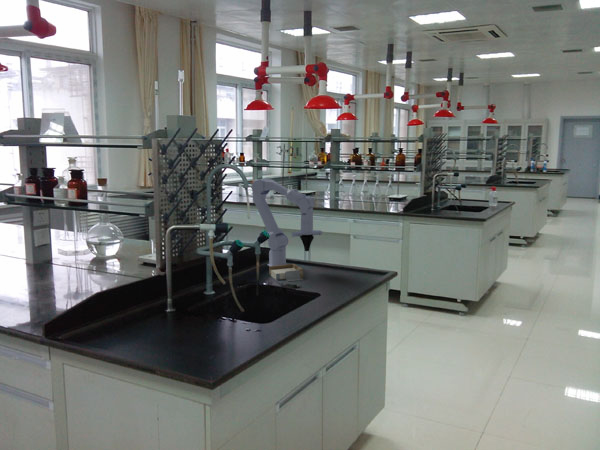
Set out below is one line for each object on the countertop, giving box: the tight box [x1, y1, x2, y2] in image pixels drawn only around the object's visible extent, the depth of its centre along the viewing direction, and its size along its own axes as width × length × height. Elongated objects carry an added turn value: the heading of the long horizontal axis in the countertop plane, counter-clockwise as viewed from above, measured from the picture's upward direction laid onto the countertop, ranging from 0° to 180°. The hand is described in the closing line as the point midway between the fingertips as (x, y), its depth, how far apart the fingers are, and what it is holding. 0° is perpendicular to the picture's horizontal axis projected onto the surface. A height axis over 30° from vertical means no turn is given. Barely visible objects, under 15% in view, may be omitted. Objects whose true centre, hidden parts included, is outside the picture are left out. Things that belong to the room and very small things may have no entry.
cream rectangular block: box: [270, 268, 296, 281], centre depth 236 cm, size 7×11×3 cm, turn 112°
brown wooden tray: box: [268, 263, 304, 279], centre depth 236 cm, size 11×12×4 cm
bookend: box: [284, 270, 304, 282], centre depth 230 cm, size 4×7×4 cm, turn 112°
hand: (306, 250), depth 245 cm, fingers closed
